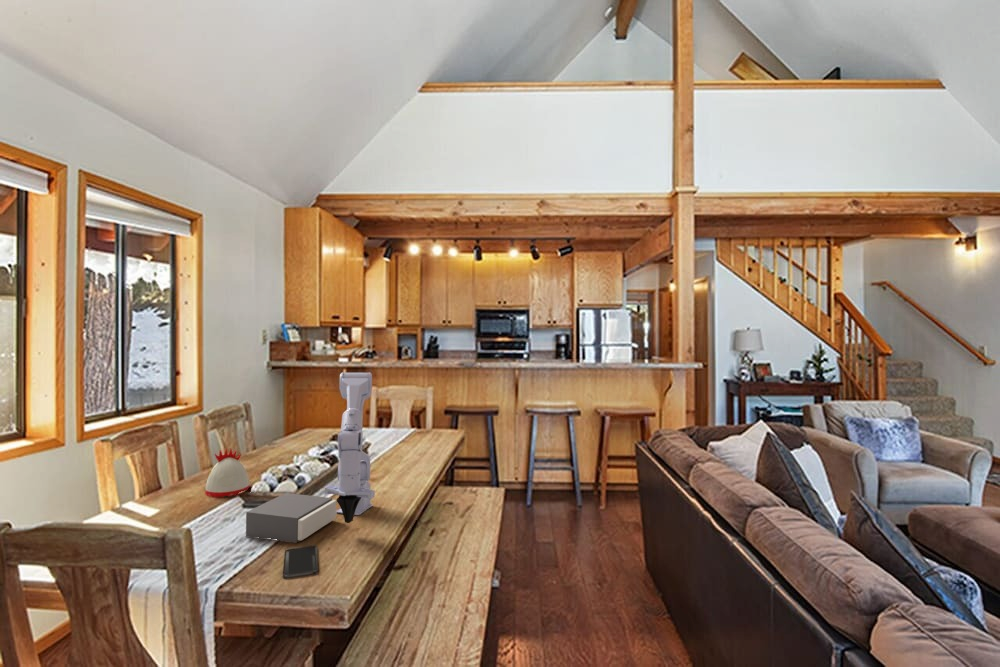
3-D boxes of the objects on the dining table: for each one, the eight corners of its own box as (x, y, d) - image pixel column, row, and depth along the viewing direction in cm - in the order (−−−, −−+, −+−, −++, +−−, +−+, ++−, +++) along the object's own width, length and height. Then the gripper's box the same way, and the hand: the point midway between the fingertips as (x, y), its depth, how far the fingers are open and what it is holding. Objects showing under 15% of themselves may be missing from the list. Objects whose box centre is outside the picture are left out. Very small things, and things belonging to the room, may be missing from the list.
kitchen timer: (205, 487, 182) (206, 446, 181) (248, 482, 188) (248, 442, 188) (205, 499, 169) (205, 454, 169) (250, 493, 176) (251, 450, 176)
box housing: (331, 520, 153) (332, 497, 153) (296, 543, 137) (297, 518, 137) (285, 514, 157) (285, 493, 157) (245, 536, 140) (246, 512, 140)
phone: (282, 576, 117) (285, 549, 131) (282, 581, 117) (285, 553, 131) (318, 570, 120) (317, 545, 134) (318, 575, 120) (317, 549, 134)
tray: (336, 517, 153) (336, 500, 153) (301, 540, 136) (301, 520, 136) (290, 512, 157) (290, 495, 156) (250, 533, 140) (251, 514, 140)
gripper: (318, 474, 140) (317, 523, 140) (366, 479, 137) (365, 529, 137) (332, 468, 147) (332, 514, 147) (378, 472, 144) (377, 520, 144)
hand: (348, 521), depth 142 cm, fingers closed
